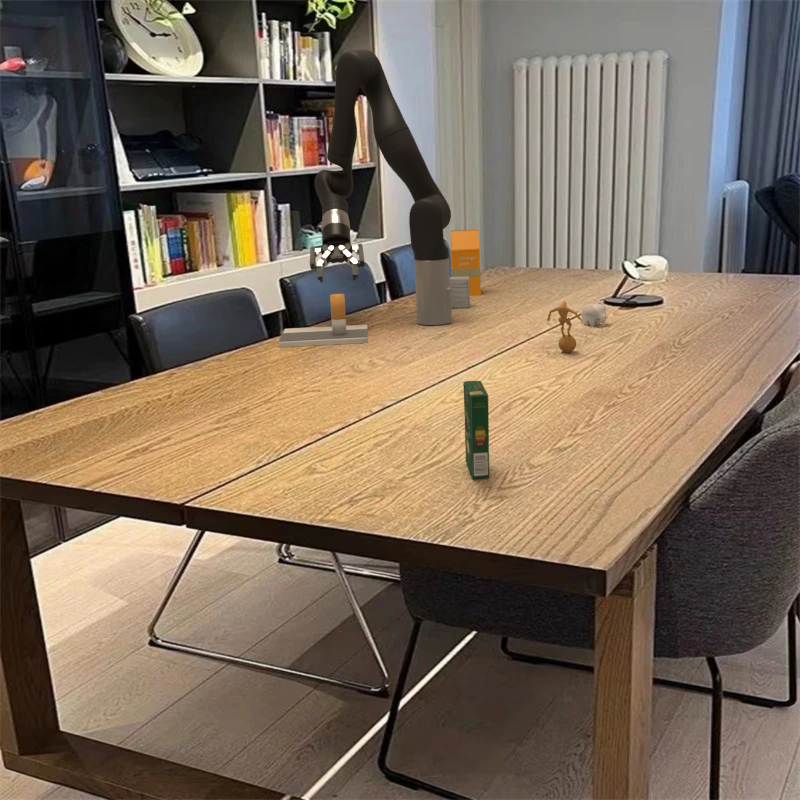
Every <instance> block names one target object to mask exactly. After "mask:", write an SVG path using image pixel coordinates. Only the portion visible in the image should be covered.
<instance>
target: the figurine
mask: <svg viewBox="0 0 800 800" xmlns="http://www.w3.org/2000/svg"><path fill="white" fill-rule="evenodd" d="M555 312H557V314H559V316H560V317H558V322H559V324H560V325H561V327H560V332H561V335H562V336H561V337H560V339H559V340H558V347H559V349H560V350H561V351H562V352H563V353H571V352H573V351H574V350H575V349H576V347H577V340H576V338H575V337H574V336H573V335H572V334H571V333H570V331H571V328H572V325H573V324H572V322H571V318H570V317H568V314H569V313H570V314H574V315H575V316H576V318H577V319H579V321H581V324H583V325H584V323H583V320H582V317H581V316H580V315H578V313H577V312H576V311H574V310H572V309H571V308H569V307H568V306H567V302H566V301H562V302H561V304H560V305H558V306H557V307H555V308H552V309H551V310H550V311H549V312H548V316H547V322H550V320H551V316H552V313H555ZM565 323H566V325H567V326H568V327H567V329H566V330H567V331H566V332H567V334H566V333H565V332H564V330H565Z"/></svg>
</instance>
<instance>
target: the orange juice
mask: <svg viewBox="0 0 800 800" xmlns="http://www.w3.org/2000/svg"><path fill="white" fill-rule="evenodd" d="M479 235H480V234H479V229H463V230H461V229H460V230H458V229H457V230H450V274H451V275H450V277H469V285H470V297H474V296H481V293H482V292H481V291H482V290H481V289H482V288H481V258H480V257H481V254H480V253H481V252H480V240H479V239H480V237H479Z"/></svg>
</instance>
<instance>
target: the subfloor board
mask: <svg viewBox="0 0 800 800" xmlns="http://www.w3.org/2000/svg"><path fill="white" fill-rule="evenodd" d="M368 329H369V328H368V324H350V325H348V324H346V331H347V334H345V335H333V334H332V325H331V326H314V327H312V326H311V327H310V326H309V327H293V328H292V327H291V328H284V330H283V332H282V334H281V335H280V338H279V340H278V347H279V348H293V347H296V348H297V347H309V346H310V347H312V346H328V345H329V346H331V345H351V344H367V343H368V339H369V338H368V334H369V330H368Z"/></svg>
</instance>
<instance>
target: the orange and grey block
mask: <svg viewBox="0 0 800 800" xmlns="http://www.w3.org/2000/svg"><path fill="white" fill-rule="evenodd" d="M329 301H330V313H331V314H330V315H331V317H330V318H331V326H332V334H333V335H345V334H347V331H346V326H347V317H346V300H345V293H332V294H330V295H329Z"/></svg>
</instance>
